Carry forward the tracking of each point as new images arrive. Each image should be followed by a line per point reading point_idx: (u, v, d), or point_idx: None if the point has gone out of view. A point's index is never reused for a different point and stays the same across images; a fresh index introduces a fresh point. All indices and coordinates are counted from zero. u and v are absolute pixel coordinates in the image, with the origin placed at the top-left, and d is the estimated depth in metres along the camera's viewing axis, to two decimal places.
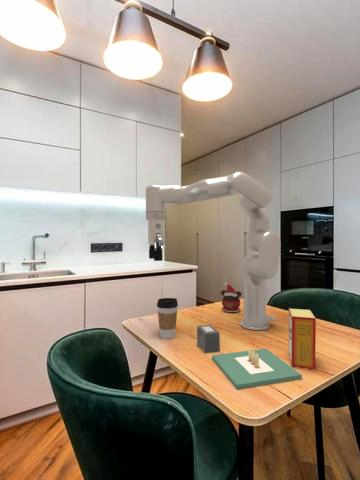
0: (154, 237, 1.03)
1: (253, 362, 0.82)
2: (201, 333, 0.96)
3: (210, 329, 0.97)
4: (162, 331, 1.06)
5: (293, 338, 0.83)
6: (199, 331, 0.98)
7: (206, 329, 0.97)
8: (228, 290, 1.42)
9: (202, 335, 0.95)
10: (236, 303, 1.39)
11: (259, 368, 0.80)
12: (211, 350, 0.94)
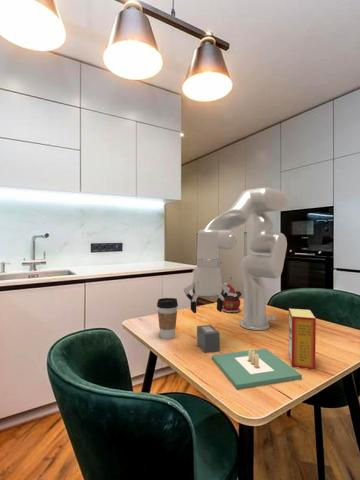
0: None
1: (253, 362, 0.82)
2: (201, 333, 0.96)
3: (210, 329, 0.97)
4: (162, 331, 1.06)
5: (293, 338, 0.83)
6: (199, 331, 0.98)
7: (206, 329, 0.97)
8: None
9: (202, 335, 0.95)
10: (236, 303, 1.39)
11: (259, 368, 0.80)
12: (211, 350, 0.94)
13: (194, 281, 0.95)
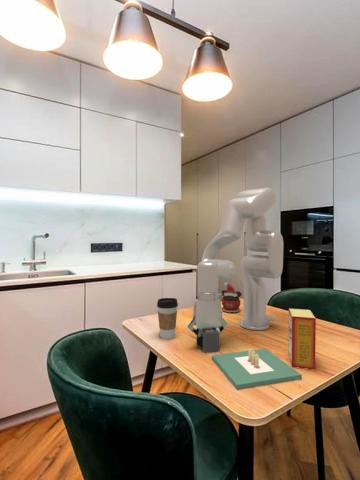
0: None
1: (253, 362, 0.82)
2: None
3: (210, 329, 0.97)
4: (162, 331, 1.06)
5: (293, 338, 0.83)
6: None
7: (206, 329, 0.97)
8: (228, 290, 1.42)
9: (202, 335, 0.95)
10: (236, 303, 1.39)
11: (259, 368, 0.80)
12: (211, 350, 0.94)
13: (195, 314, 0.96)
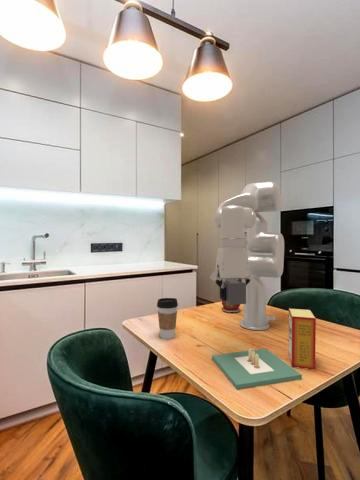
0: None
1: (253, 362, 0.82)
2: None
3: (235, 281, 0.88)
4: (162, 331, 1.06)
5: (293, 338, 0.83)
6: None
7: (230, 281, 0.88)
8: None
9: (226, 286, 0.86)
10: None
11: (259, 368, 0.80)
12: (236, 302, 0.84)
13: (218, 263, 0.87)
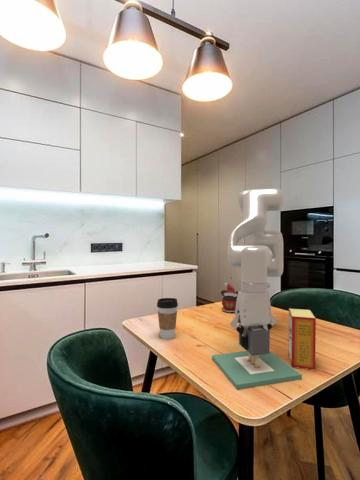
0: None
1: (253, 362, 0.82)
2: None
3: (256, 327, 0.82)
4: (162, 331, 1.06)
5: (293, 338, 0.83)
6: None
7: (252, 327, 0.82)
8: (228, 290, 1.42)
9: (248, 334, 0.80)
10: None
11: (259, 368, 0.80)
12: (260, 352, 0.78)
13: (239, 309, 0.80)
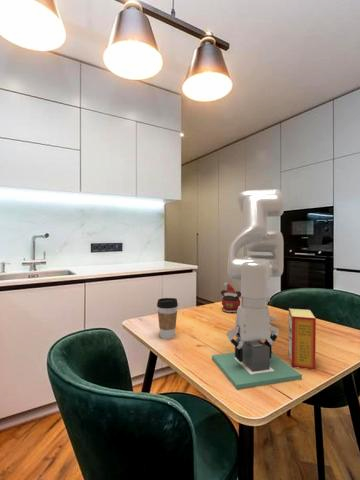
0: None
1: None
2: (246, 348, 0.81)
3: (256, 343, 0.82)
4: (162, 331, 1.06)
5: (293, 338, 0.83)
6: (243, 345, 0.83)
7: (252, 343, 0.82)
8: (228, 290, 1.42)
9: (248, 350, 0.80)
10: (236, 303, 1.39)
11: None
12: (260, 368, 0.78)
13: (239, 324, 0.80)
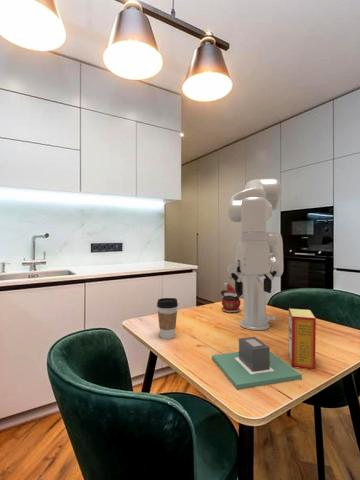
0: None
1: None
2: (246, 348, 0.81)
3: (256, 343, 0.82)
4: (162, 331, 1.06)
5: (293, 338, 0.83)
6: (243, 345, 0.83)
7: (252, 343, 0.82)
8: (228, 290, 1.42)
9: (248, 350, 0.80)
10: (236, 303, 1.39)
11: None
12: (260, 368, 0.78)
13: (239, 258, 0.82)
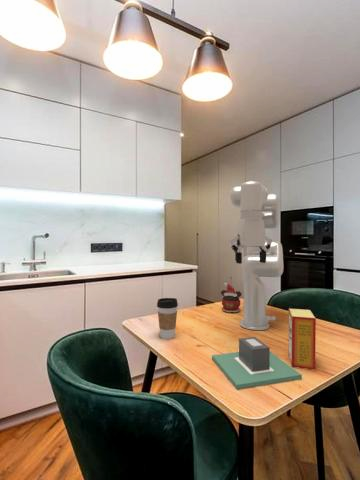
0: None
1: None
2: (246, 348, 0.81)
3: (256, 343, 0.82)
4: (162, 331, 1.06)
5: (293, 338, 0.83)
6: (243, 345, 0.83)
7: (252, 343, 0.82)
8: (228, 290, 1.42)
9: (248, 350, 0.80)
10: (236, 303, 1.39)
11: None
12: (260, 368, 0.78)
13: (239, 233, 0.97)
